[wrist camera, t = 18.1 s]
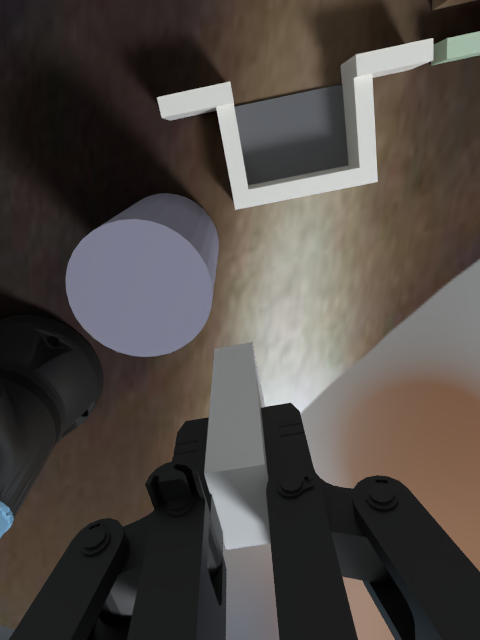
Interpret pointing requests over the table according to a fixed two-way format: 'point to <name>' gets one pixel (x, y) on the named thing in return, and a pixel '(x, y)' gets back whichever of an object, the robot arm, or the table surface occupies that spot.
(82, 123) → the table surface
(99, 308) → the lavender cylinder
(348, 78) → the white walled enclosure
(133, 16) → the table surface
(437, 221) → the table surface
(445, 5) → the block
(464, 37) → the rails
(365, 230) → the table surface
